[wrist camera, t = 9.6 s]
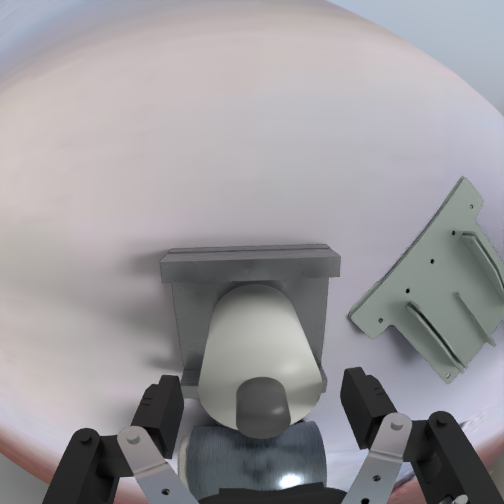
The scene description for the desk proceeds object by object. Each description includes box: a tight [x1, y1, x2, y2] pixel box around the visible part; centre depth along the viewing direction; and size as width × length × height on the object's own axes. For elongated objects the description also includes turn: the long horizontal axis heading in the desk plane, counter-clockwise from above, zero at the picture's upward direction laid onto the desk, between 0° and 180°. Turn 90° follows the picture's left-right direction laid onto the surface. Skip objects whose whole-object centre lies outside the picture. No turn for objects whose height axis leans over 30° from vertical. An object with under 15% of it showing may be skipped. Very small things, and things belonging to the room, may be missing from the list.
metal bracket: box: [349, 176, 504, 384], centre depth 19 cm, size 14×6×15 cm
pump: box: [198, 284, 322, 439], centre depth 14 cm, size 6×6×9 cm
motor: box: [160, 244, 341, 501], centre depth 16 cm, size 11×22×10 cm, turn 1°
